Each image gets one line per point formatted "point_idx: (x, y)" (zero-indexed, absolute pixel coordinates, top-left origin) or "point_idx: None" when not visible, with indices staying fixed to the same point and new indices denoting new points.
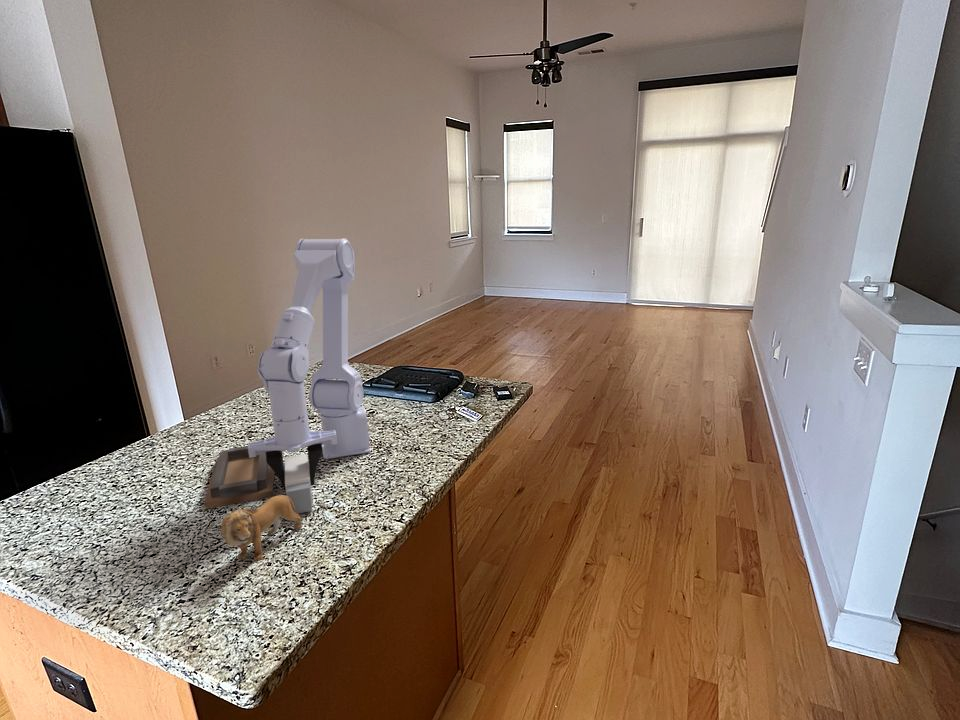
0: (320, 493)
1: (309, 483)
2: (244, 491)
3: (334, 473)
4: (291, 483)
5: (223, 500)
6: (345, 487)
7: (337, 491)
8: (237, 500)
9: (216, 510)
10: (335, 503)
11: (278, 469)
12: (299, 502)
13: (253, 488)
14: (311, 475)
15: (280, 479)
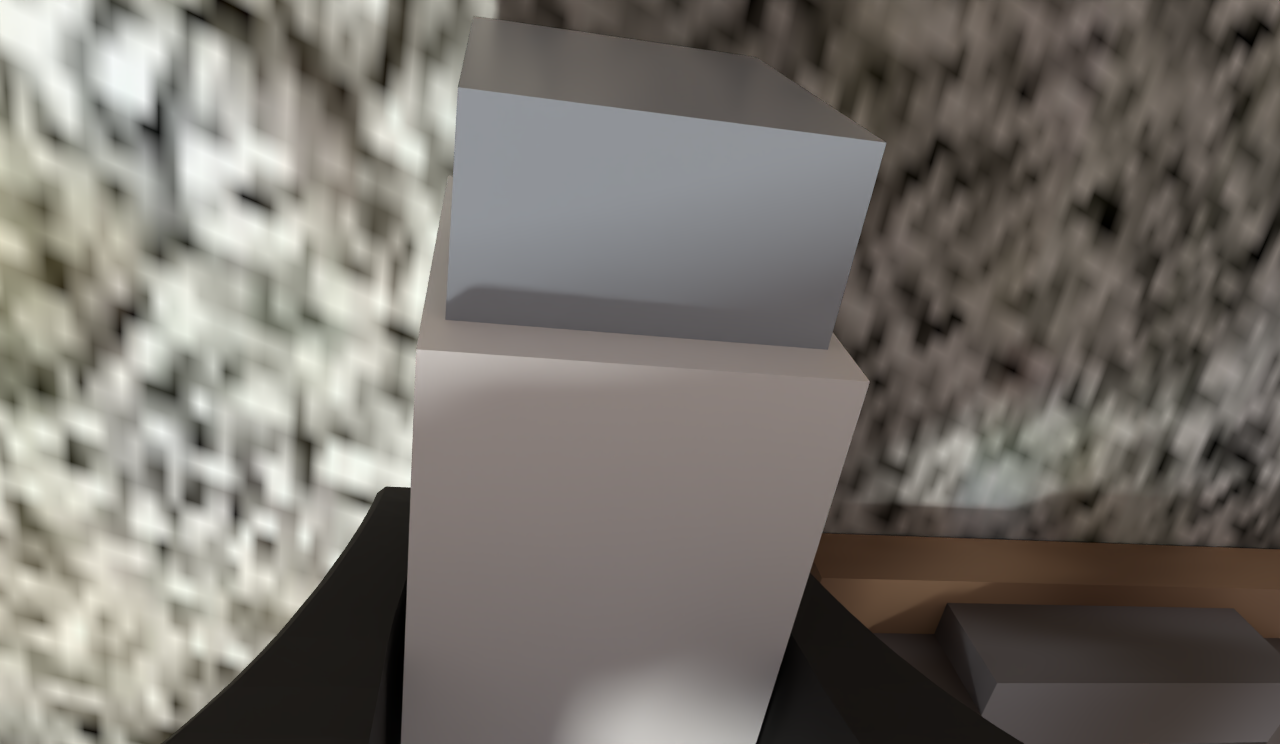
0: (337, 409)
1: (439, 308)
2: (1066, 626)
3: (166, 714)
4: (752, 361)
5: (1214, 579)
6: (16, 420)
7: (123, 372)
8: (1100, 558)
9: (1255, 498)
10: (145, 95)
11: (911, 721)
12: (645, 63)
13: (998, 636)
14: (386, 573)
15: (823, 597)
